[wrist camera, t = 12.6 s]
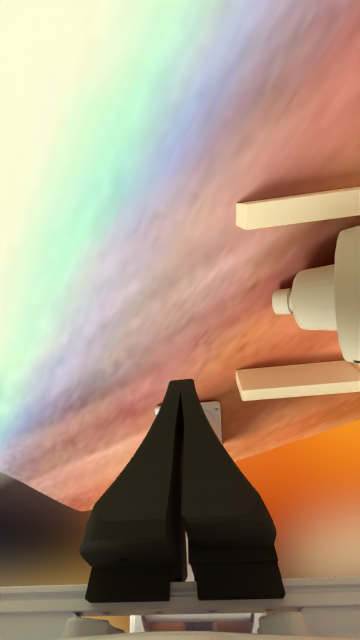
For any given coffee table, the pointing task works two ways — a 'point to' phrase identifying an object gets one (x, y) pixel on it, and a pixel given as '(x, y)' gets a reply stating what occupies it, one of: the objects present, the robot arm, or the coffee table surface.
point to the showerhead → (329, 296)
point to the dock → (310, 375)
